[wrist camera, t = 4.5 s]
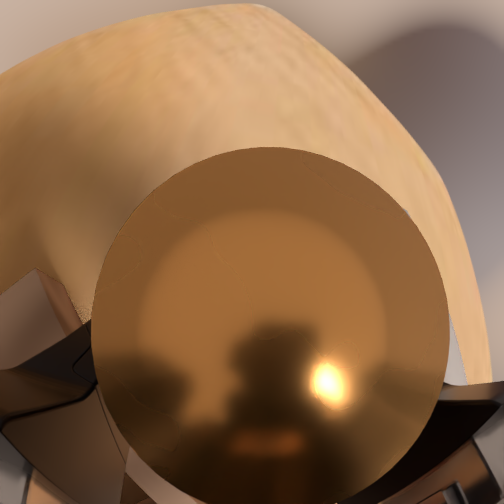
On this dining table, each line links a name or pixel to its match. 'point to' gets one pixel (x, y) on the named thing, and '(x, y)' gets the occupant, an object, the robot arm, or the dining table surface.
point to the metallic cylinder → (270, 329)
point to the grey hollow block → (48, 333)
